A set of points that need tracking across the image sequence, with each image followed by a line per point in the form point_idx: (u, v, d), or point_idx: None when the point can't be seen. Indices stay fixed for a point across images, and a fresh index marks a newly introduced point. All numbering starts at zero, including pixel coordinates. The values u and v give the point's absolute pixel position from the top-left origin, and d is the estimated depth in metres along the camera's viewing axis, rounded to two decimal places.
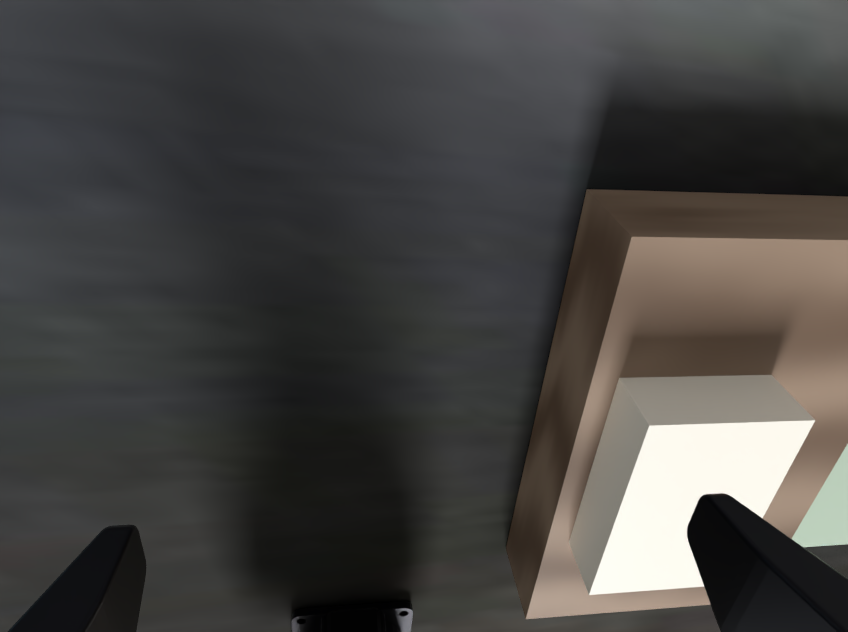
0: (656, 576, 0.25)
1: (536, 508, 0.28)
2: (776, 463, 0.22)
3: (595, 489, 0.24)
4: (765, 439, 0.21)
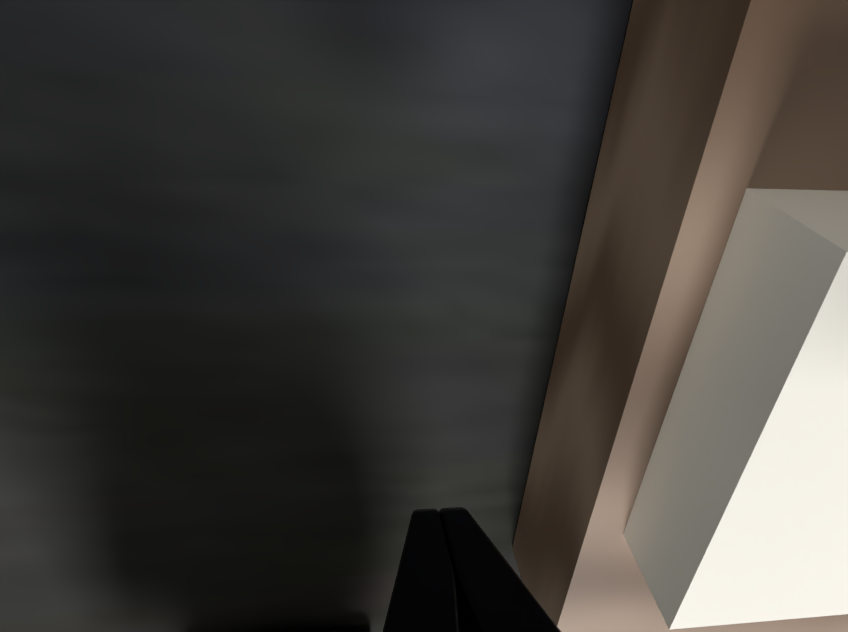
0: (795, 594, 0.13)
1: (565, 478, 0.17)
2: None
3: (684, 430, 0.13)
4: None
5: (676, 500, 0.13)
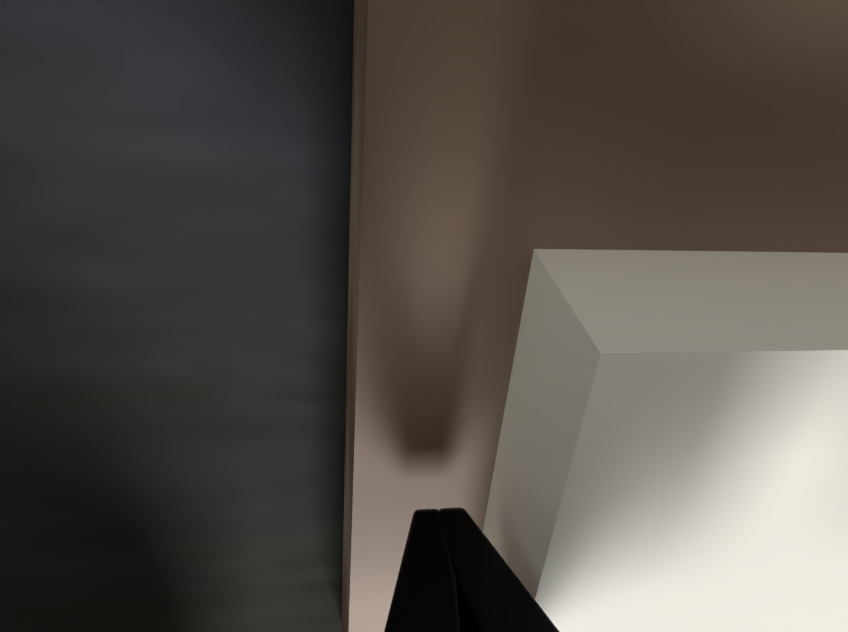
0: None
1: (346, 567, 0.14)
2: None
3: (496, 533, 0.10)
4: None
5: None
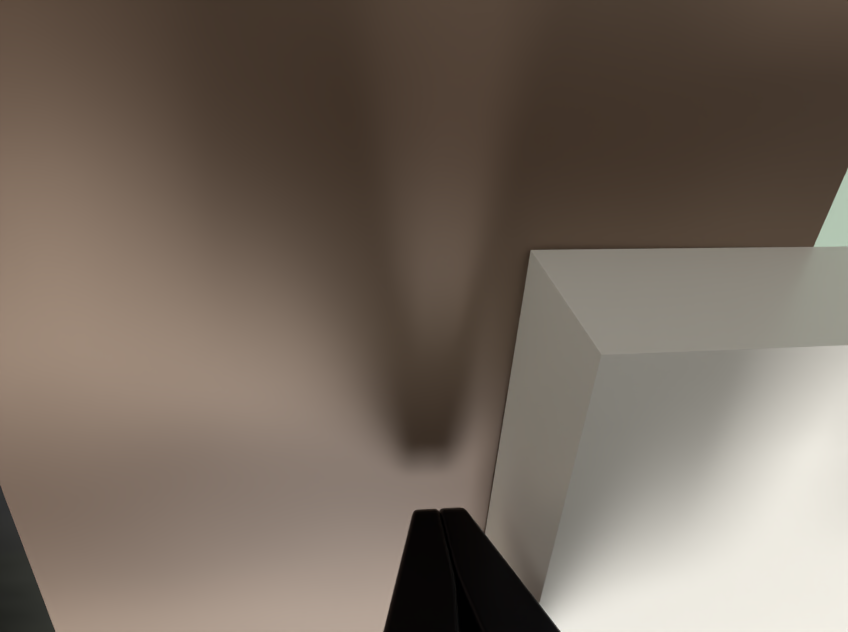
0: None
1: None
2: None
3: (499, 535, 0.10)
4: None
5: None
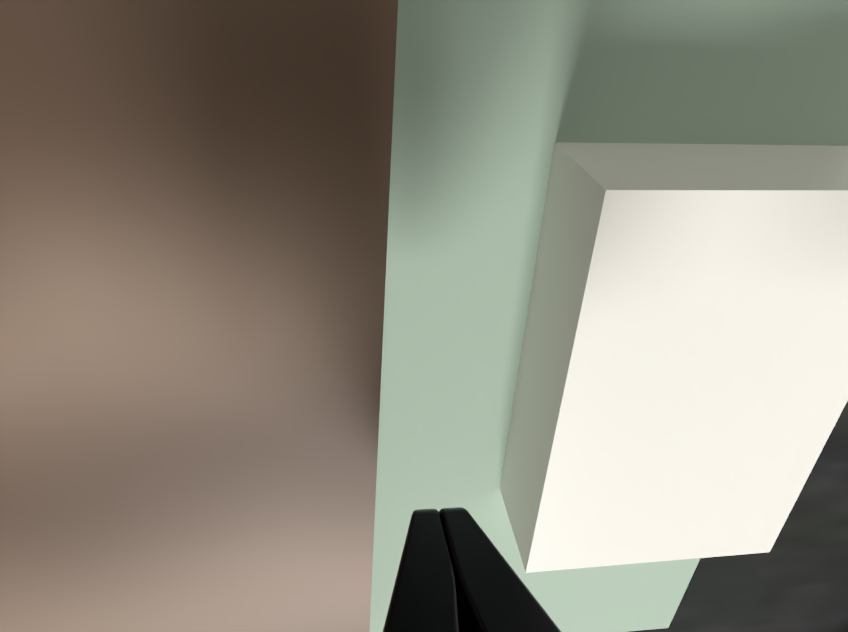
0: None
1: None
2: None
3: None
4: None
5: None
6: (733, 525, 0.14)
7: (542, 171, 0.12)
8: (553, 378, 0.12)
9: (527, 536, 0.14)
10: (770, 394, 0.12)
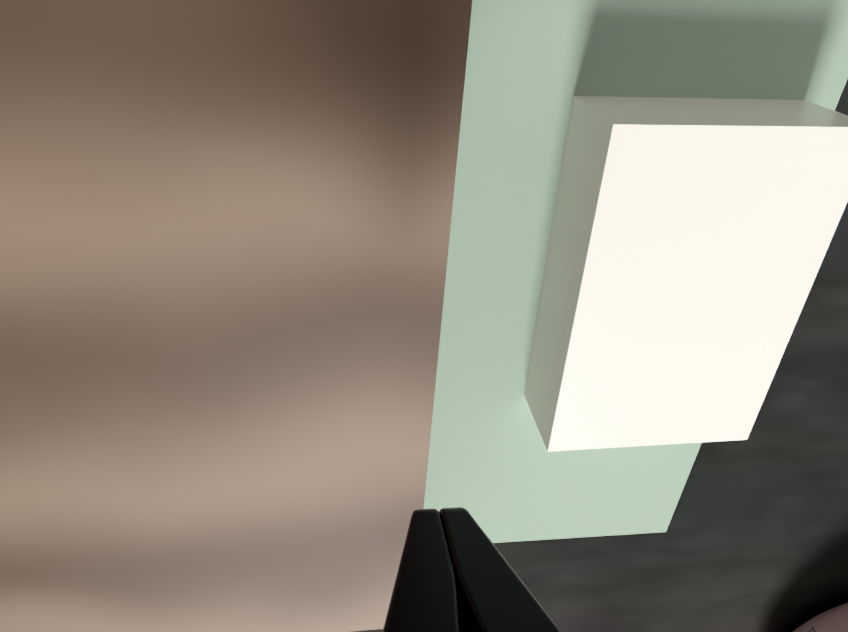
0: None
1: None
2: None
3: None
4: None
5: None
6: (716, 413, 0.17)
7: (563, 119, 0.15)
8: (571, 282, 0.15)
9: (548, 420, 0.17)
10: (742, 295, 0.15)
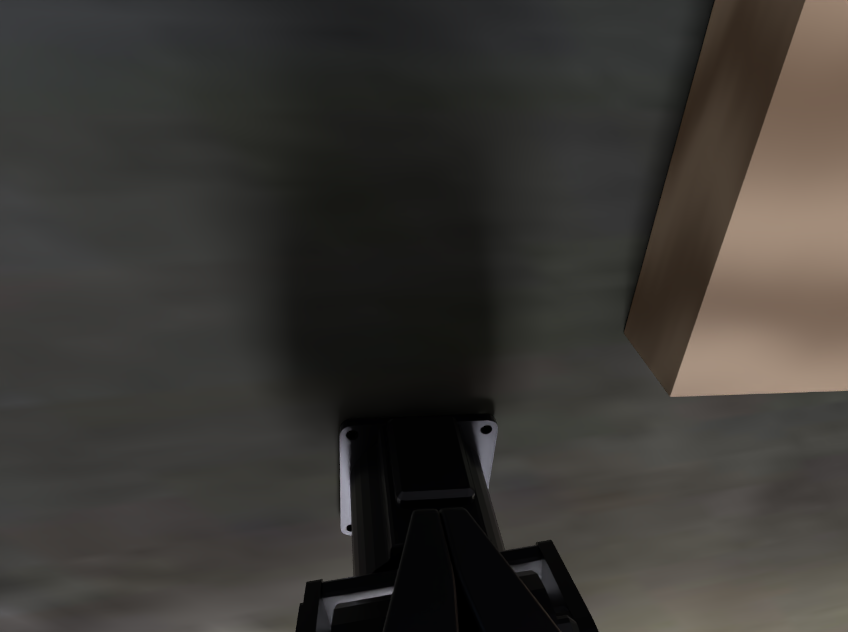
0: None
1: (693, 222, 0.20)
2: None
3: None
4: None
5: None
6: None
7: None
8: None
9: None
10: None
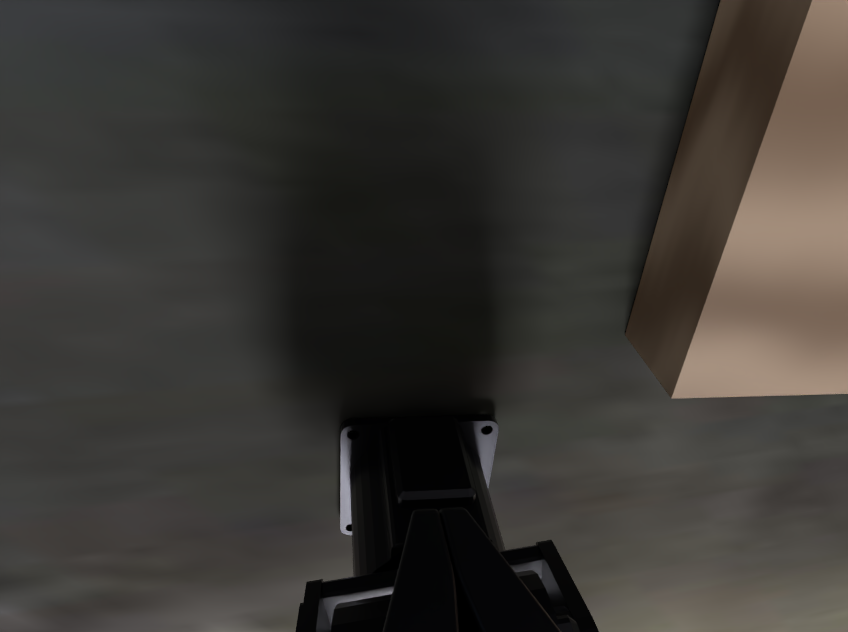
0: None
1: (696, 224, 0.20)
2: None
3: None
4: None
5: None
6: None
7: None
8: None
9: None
10: None
